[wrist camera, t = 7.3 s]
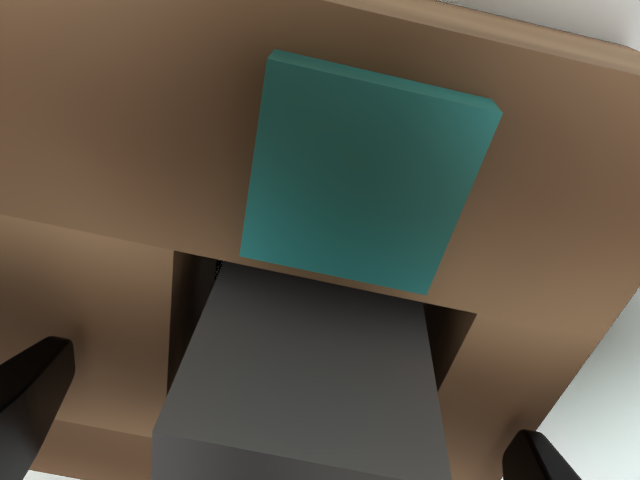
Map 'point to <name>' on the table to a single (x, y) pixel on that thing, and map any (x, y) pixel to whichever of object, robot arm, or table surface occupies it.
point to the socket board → (311, 195)
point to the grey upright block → (302, 386)
